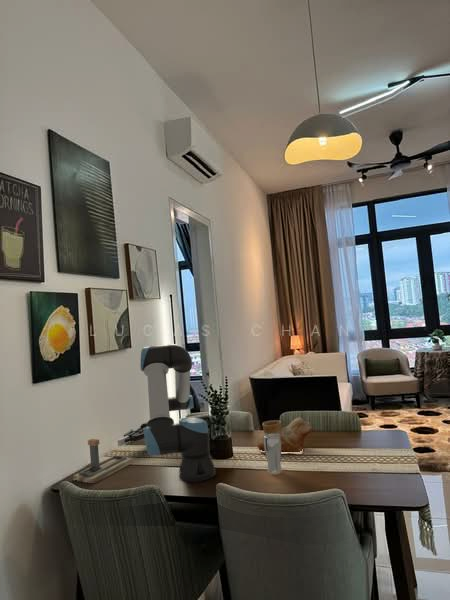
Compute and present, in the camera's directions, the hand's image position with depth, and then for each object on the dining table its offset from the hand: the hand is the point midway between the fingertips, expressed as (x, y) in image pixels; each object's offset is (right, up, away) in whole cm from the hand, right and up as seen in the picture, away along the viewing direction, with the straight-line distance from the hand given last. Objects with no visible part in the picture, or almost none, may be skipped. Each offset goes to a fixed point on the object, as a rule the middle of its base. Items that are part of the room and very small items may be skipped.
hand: (118, 442), depth 200 cm
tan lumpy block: (+79, -3, -1) cm, 79 cm away
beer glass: (+71, -3, -27) cm, 76 cm away
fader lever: (-7, -7, -15) cm, 18 cm away
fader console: (-4, -9, -10) cm, 15 cm away
